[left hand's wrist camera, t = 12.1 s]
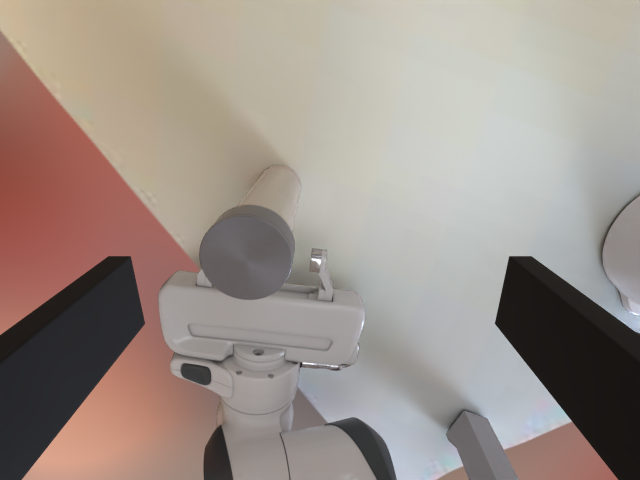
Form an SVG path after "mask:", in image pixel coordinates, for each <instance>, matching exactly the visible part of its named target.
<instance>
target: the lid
mask: <svg viewBox="0 0 640 480" xmlns="http://www.w3.org/2000/svg"><path fill="white" fill-rule="evenodd" d="M294 250H295V243H294V237H293V234H292V231H291V229H290V227H289V225H288V224H287V223H286V221H285V220H284V219H283V218H282V217H281V216H280V215H278V214H277V213H276V212H274V211H272V210H270V209H268V208H266V207H262V206H258V205H241V206H237V207H234V208H232V209H230V210H228V211H227V212H225V213H224V214H223V215H222V216H220V218H219V219H218V220H217V221H216V222H215V223H214V225H213V226H212V227H211V228H210V229H209V230H208V232H207V233H206V234H205V236H204V238H203V240H202V243H201V246H200V253H199V256H200V263H201V267H202V270H203V272H204V274H205V276H206V277H207V279H208V280H209V282H210V283H211V284H212V285H213V286H214V287H215V288H217V289H218V290H219V291H221V292H222V293H224V294H226V295H228V296H231V297H233V298H237V299H242V300H256V299H261V298H265V297H267V296H270V295H272V294H273V293H275V292H276V291H278V290H279V289H280V288H281V287H282V286H283V285H284V284H285V282H286V281H287V279H288V277H289V275H290V272H291V268H292V262H293V256H294Z"/></svg>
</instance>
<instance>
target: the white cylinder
mask: <svg viewBox="0 0 640 480" xmlns="http://www.w3.org/2000/svg"><path fill="white" fill-rule="evenodd" d="M300 193H301V182H300V179H299V177H298V175H297V174H296V173H295V172H294V171H293V170H292V169H290V168H288V167H286V166H281V165H277V166H272V167H270V168H268V169H266V170H265V171H264V172H263V173H262V174H261V176H260V177H259V178H258V180H257V181H256V182H255V183H254V185H253V186H252V187H251V188H250V190H249V191H248V192H247V194H246V195H245V196H244V197H243V199H242V200H241V201H240V203H239V204H238V205H237V206H241V205H258V206H262V207H266V208H268V209H270V210H272V211H274V212H276V213H277V214H278V215H280V216H281V217H282V218H283V219H284V220H285V221H286V223H287V224H288V225H289V227H290V229H291V231H293V226H294V222H295V217H296V212H297V208H298V203H299V198H300ZM237 206H236V207H237Z"/></svg>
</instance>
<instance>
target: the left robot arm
mask: <svg viewBox="0 0 640 480" xmlns="http://www.w3.org/2000/svg"><path fill="white" fill-rule="evenodd" d="M144 324H145V321H144V317H143V312H142V308H141V303H140V298H139V293H138V289H137V284H136V279H135V275H134V270H133V265H132V260H131V257H130V256H109V257H107V258H106V259H104V260H103V261H102V262H100V263H99V264H97V265H96V266H95V267H93V268H92V269H91V270H89V271H88V272H86V273H85V274H84V275H82V276H81V277H80V278H78V279H77V280H75V281H74V282H73V283H71V284H70V285H69V286H67V287H66V288H65V289H63V290H62V291H60V292H59V293H58V294H56V295H55V296H53V297H52V298H51V299H49V300H48V301H47V302H45V303H44V304H42V305H41V306H40V307H38V308H37V309H36V310H34V311H33V312H32V313H30V314H29V315H27V316H26V317H25V318H23V319H22V320H21V321H19V322H18V323H16V324H15V325H14V326H12V327H11V328H10V329H8V330H7V331H6V332H4V333H3V334H1V335H0V480H22V478H23V477H24V476H25V475H26V473H27V472H28V471H29V470H30V468H31V467H32V466H33V465H34V463H35V462H36V461H37V460H38V458H39V457H40V456H41V454H42V453H43V452H44V451H45V449H46V448H47V447H48V446H49V444H50V443H51V442H52V441H53V439H54V438H55V437H56V436H57V434H58V433H59V432H60V430H61V429H62V428H63V427H64V425H65V424H66V423H67V422H68V420H69V419H70V418H71V417H72V415H73V414H74V413H75V411H76V410H77V409H78V408H79V406H80V405H81V404H82V403H83V401H84V400H85V399H86V398H87V396H88V395H89V394H90V392H91V391H92V390H93V389H94V387H95V386H96V385H97V384H98V382H99V381H100V380H101V379H102V377H103V376H104V375H105V373H106V372H107V371H108V370H109V368H110V367H111V366H112V365H113V363H114V362H115V361H116V360H117V358H118V357H119V356H120V355H121V353H122V352H123V351H124V350H125V348H126V347H127V346H128V344H129V343H130V342H131V341H132V339H133V338H134V337H135V336H136V334H137V333H138V332H139V331H140V329H141V328H142V327H143V325H144ZM495 324H496V326H497V327H498V328H499V329H500V331H501V332H502V333H503V334H504V336H505V337H506V338H507V339H508V341H509V342H510V343H511V344H512V346H513V347H514V348H515V350H516V351H517V352H518V353H519V355H520V356H521V357H522V358H523V360H524V361H525V362H526V363H527V365H528V366H529V367H530V369H531V370H532V371H533V372H534V374H535V375H536V376H537V377H538V379H539V380H540V381H541V382H542V384H543V385H544V386H545V387H546V389H547V390H548V391H549V393H550V394H551V395H552V396H553V398H554V399H555V400H556V401H557V403H558V404H559V405H560V406H561V408H562V409H563V410H564V411H565V413H566V414H567V415H568V417H569V418H570V419H571V420H572V422H573V423H574V424H575V425H576V427H577V428H578V429H579V430H580V432H581V433H582V434H583V436H584V437H585V438H586V439H587V441H588V442H589V443H590V444H591V446H592V447H593V448H594V449H595V451H596V452H597V453H598V454H599V456H600V457H601V458H602V460H603V461H604V462H605V463H606V465H607V466H608V467H609V468H610V470H611V471H612V472H613V473H614V475H615V476H616V477H617V478H618V480H640V334H639V333H637V332H635V331H633V330H632V329H630V328H629V327H628V326H626V325H625V324H624V323H622V322H621V321H619V320H618V319H617V318H615V317H614V316H613V315H611V314H610V313H608V312H607V311H606V310H604V309H603V308H602V307H600V306H599V305H598V304H596V303H595V302H593V301H592V300H591V299H589V298H588V297H587V296H585V295H584V294H582V293H581V292H580V291H578V290H577V289H576V288H574V287H573V286H571V285H570V284H569V283H567V282H566V281H565V280H563V279H562V278H560V277H559V276H558V275H556V274H555V273H554V272H552V271H551V270H549V269H548V268H547V267H545V266H544V265H543V264H541V263H540V262H538V261H537V260H536V259H534V258H533V257H532V256H509V260H508V265H507V270H506V275H505V279H504V284H503V289H502V293H501V298H500V303H499V307H498V312H497V317H496V321H495Z"/></svg>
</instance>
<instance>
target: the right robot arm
mask: <svg viewBox="0 0 640 480" xmlns="http://www.w3.org/2000/svg"><path fill="white" fill-rule="evenodd" d="M602 259H603V266H604V270H605V273H606V275H607V277H608V278H609V280H610V281H611V282H612V283H613V284H614V285H615V286H616V287H617V289H618V290H619V291H620V294H621V300H622V304H623V307H624V308H625V309H626V310H628V311H630V312H631V313H633V314H640V196H638V197H637V198H636V199H634V200H633V201H632V202H631V203H630V204H629V205H628V206H627V207H626V208H625V209H624V210H623V211H622V212H621V213H620V215H619V216H618V217H617V219H616V220H615V221H614V223H613V225H612V226H611V228H610V230H609V232H608V234H607V237H606V240H605V243H604V247H603V256H602ZM326 261H327V250H322V249H313V248H312V253H311V260H310V271H312V272H318V274H319V277H320V280H319V285H318V287H314V286H306V285H297V284H289V283H285V284H284V285H283V286H282V287H281V288H280V289H279V290H278V291H276V292H275V293H273V294H272V295H270V296H267V297H265V298H261V299H256V300H242V299H237V298H233V297H231V296H228V295H226V294H224V293H222V292H221V291H219V290H218V289H217V288H215V287H214V286H213V285H212V284H211V283H210V282H209V280H208V279H207V277H206V276H205V274H204V272H203V270H202V268H201V270H200V271H199V273H196V272H187V271H177V272H175V273H174V274H173V275H172V276H171V277H170V278H169V279H168V280H167V281H166V282H165V283H164V284H163V286H162V287H161V289H160V291H159V295H158V304H159V315H160V322H161V328H162V333H163V337H164V340H165V342H166V344H167V345H168V347H169V348H170V349H171V350H172V351H174V355H173V357H172V360H171V363H170V370H171V372H172V374H173V375H175V376H177V377H179V378H182V379H185V380H188V381H190V382H193V383H196V384H198V385H201V386H203V387H205V388H207V389H209V390H211V391H213V392H215V393H217V394H218V395H219V397H220V400H221V401H220V403H219V406H218V409H217V422H216V423H217V424H216V426H217V428H216V430H215V431H214V433H213V434H212V436H211V438H210V440H209V441H208V443H207V445H206V447H205V453H204V480H397V479H396V475H395V471H394V467H393V463H392V460H391V456H390V453H389V450H388V448H387V445H386V443H385V442H384V440H383V439H382V437H381V436H380V435H379V434H378V433H377V432H376V431H375V430H373V429H372V428H371V427H370V426H368V425H367V424H366V423H364V422H363V421H361V420H359V419H358V418H354V417H352V418H348V419H344V420H340V421H336V422H332V423H328V424H325V425H323V426H318V427H311V428H305V429H298V430H291V427H292V421H293V404H292V401H293V399H294V397H295V395H296V392H297V386H298V378H299V371H300V368H301V367H305V368H316V369H317V368H318V369H319V368H323V369H329V370H333V371H339V370H341V369H342V368H344V367H348V366H351V365H353V364H354V363H355V362H356V360H357V356H358V352H359V343H358V340H359V337H360V334H361V331H362V328H363V325H364V321H365V306H364V302H363V300H362V298H361V297H360V295H359V294H358V293H357V292H355V291H348V290H339V289H333V280H332V278H331V276H330V273H329V271H328V269H327V267H326Z"/></svg>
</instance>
